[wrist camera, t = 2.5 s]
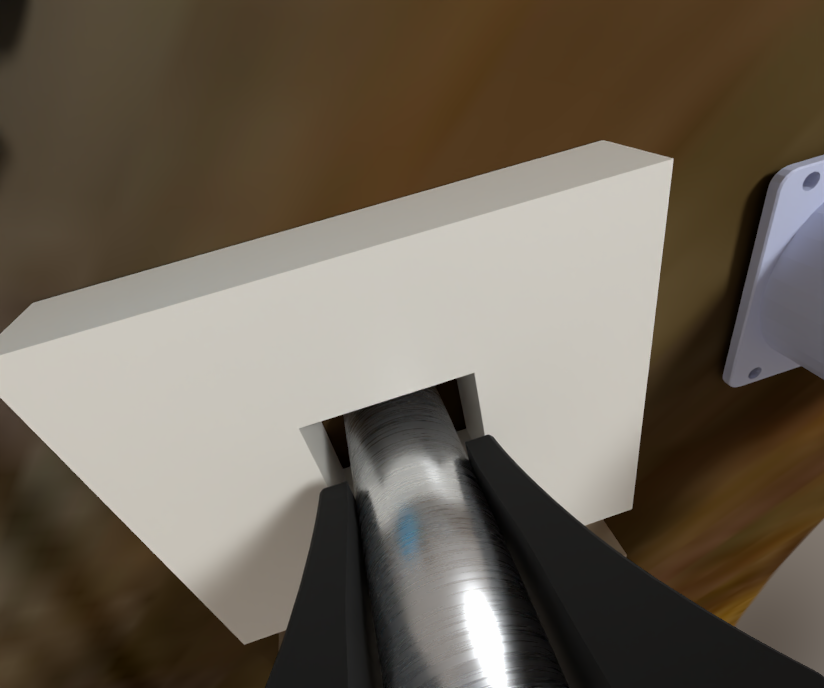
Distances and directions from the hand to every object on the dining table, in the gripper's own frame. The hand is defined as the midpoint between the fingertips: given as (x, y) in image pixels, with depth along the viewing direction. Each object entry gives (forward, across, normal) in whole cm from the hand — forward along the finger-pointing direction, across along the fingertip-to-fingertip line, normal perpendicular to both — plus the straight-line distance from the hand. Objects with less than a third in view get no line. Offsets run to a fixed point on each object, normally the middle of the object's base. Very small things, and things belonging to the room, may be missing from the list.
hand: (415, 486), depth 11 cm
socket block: (+3, 0, 0) cm, 3 cm away
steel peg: (+3, 0, 0) cm, 3 cm away
